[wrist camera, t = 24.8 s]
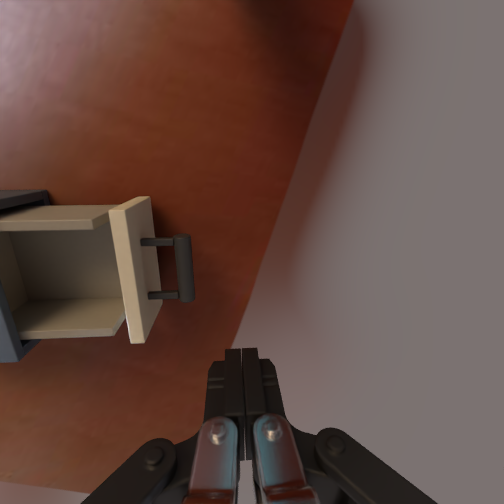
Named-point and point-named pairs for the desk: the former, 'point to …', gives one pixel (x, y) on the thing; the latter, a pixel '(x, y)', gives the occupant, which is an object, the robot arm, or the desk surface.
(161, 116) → the desk surface
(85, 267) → the drawer
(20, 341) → the cabinet
